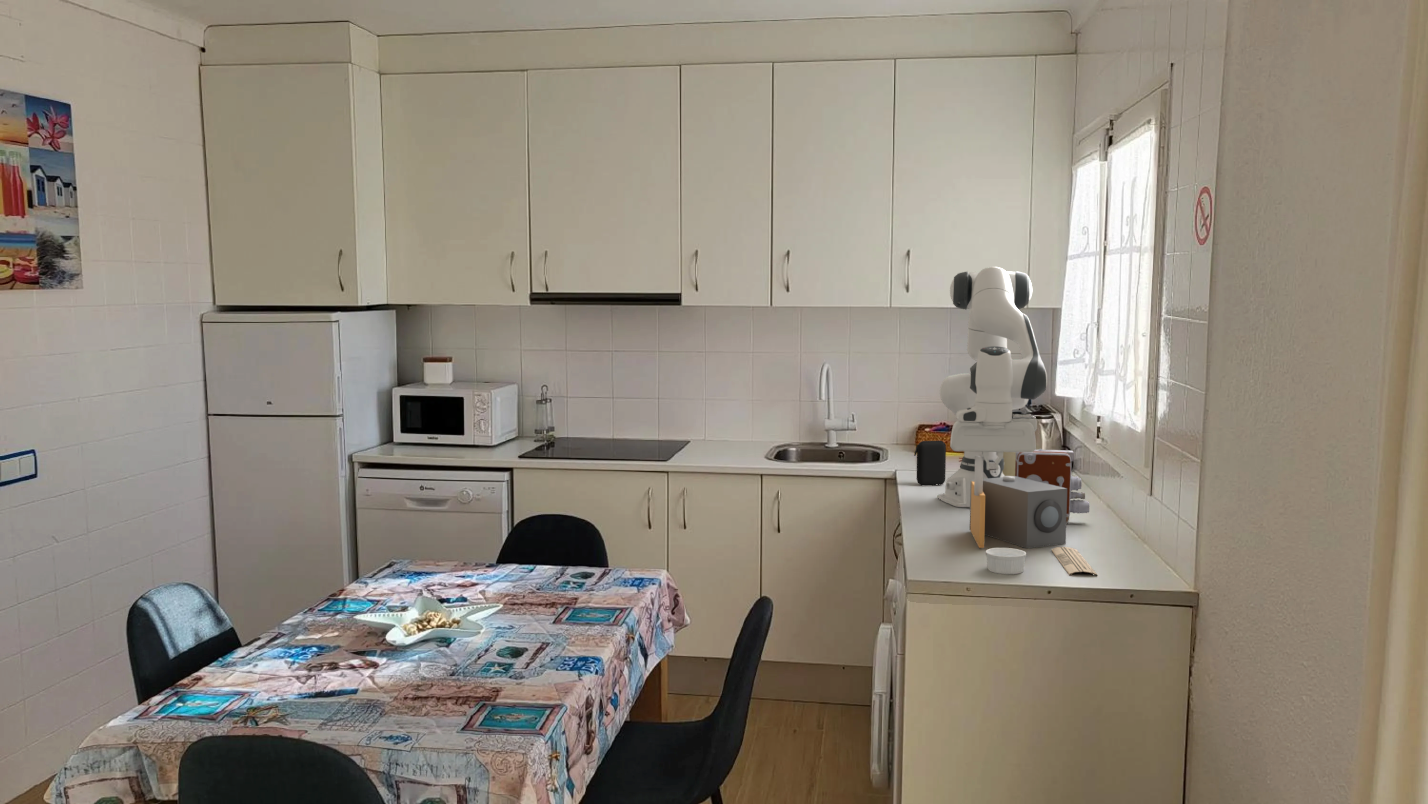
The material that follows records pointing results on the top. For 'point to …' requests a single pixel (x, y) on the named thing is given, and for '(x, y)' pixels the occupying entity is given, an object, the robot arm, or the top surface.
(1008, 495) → the box
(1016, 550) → the ramekin
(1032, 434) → the robot arm
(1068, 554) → the newspaper
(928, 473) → the carrying case or bag
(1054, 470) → the cine camera
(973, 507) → the door
